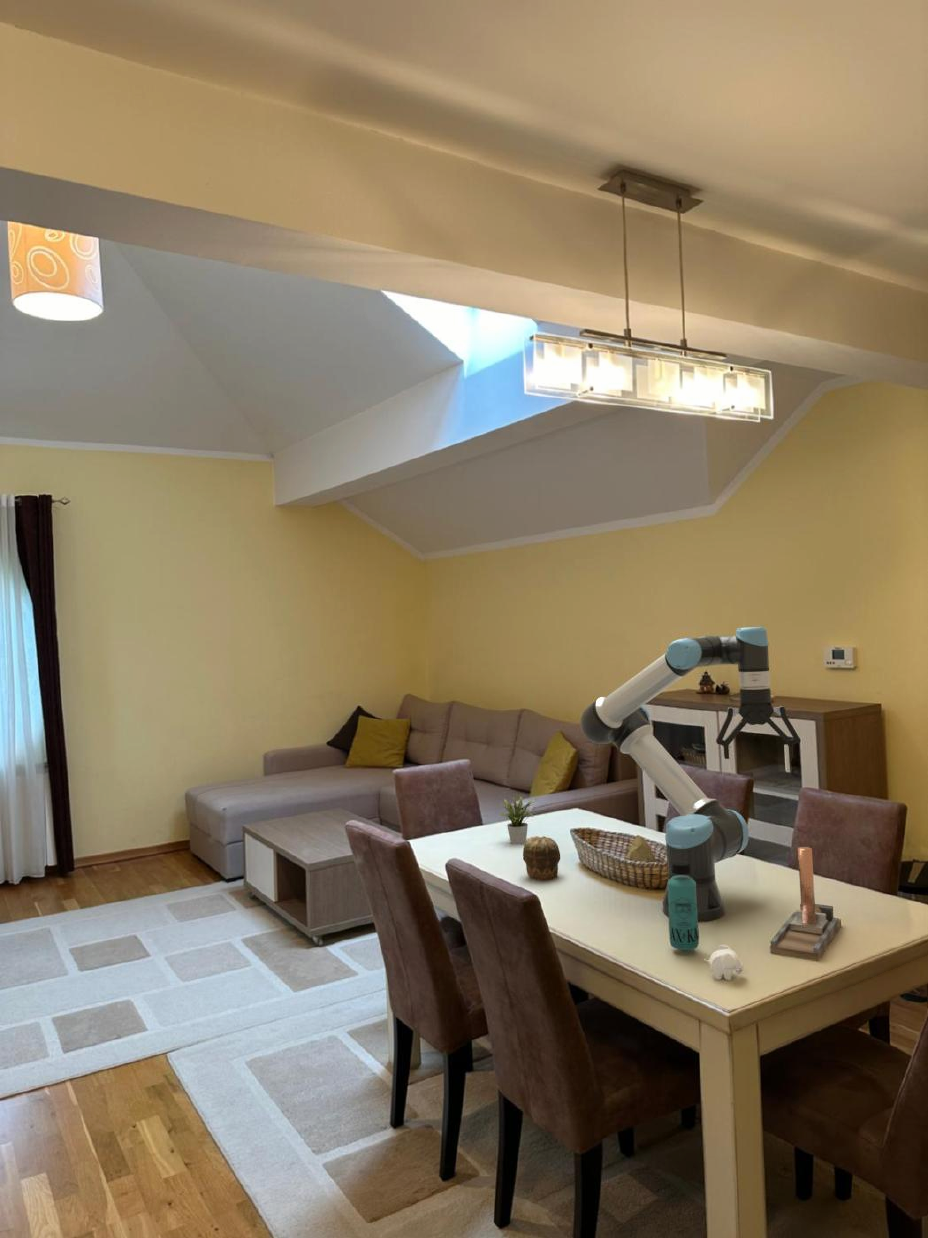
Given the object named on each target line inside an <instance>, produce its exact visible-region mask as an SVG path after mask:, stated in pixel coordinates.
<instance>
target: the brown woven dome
mask: <svg viewBox="0 0 928 1238" xmlns="http://www.w3.org/2000/svg"><path fill="white" fill-rule="evenodd" d="M523 845H524V846H523V852H522V858H523V862H524V863H525V866H526V868H525V869H526V873H527V875H528V877H529V878H530V879H531V880H535V881H543V882H544V881H551V880H554V879H557V878H559V876H558V873H559V871H558V870H559V862H561V852H560V848H559V846H558V843H557V842H556V841H555V839H553V838H551V837H546V836H545V835H544V836H541V837H539V836H538V835H536V836H531V837H529V838H527V839H526V842H525V844H523Z"/></svg>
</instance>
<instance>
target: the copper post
mask: <svg viewBox="0 0 928 1238" xmlns="http://www.w3.org/2000/svg"><path fill="white" fill-rule="evenodd" d="M797 856H798V872H799V873H798V875H799V893H800V904H801V910H800V909H796V910H795V912H796V917H795V918H794V919H793V920H792V922H791V923H790V930H796V931H802V932H809V933H815V934H823V933H824V931H825V930H826V928H827V927H828V920H826V914H824V913H817V912H815V904H816V902H815V901H816V900H815V899H816V898H815V884H814V867H813V865H814V864H813V849H812V848H811V847H809V846H799V847H798V848H797Z"/></svg>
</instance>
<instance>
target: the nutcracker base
mask: <svg viewBox="0 0 928 1238" xmlns="http://www.w3.org/2000/svg"><path fill="white" fill-rule="evenodd" d="M799 906H800V907H799V908H800V909H799V910H801V903H800V904H799ZM815 912H817V913H824V914H826V920H828V927H827V928H826V930H825V931H824V933H823V934H815V933H809V932H802V931H796V930H790V923H791V922H792V920H793V919H794V918H795V917H796V911H794V912H792V914H791V915H790V917H788V919H787V920H786V921H785V923H784V924H783V925H782V926H781V927H780V929H778V931H777V932H776V933H775V934H774V936H773V937H772V938H771V939H770V940H769V941H770V942H769V943H770V946H769V951H770V954H775V955H780V956H781V955H782V956H786V957H792V958H796V959H797V958H798V959H803V960H810V961H816V962H819V961H820V960H821V958H822V956H823V955H824V953H825V952H826V950H827V948H828V947H829V945H831V942H832V941H833V939H834V937H835V936H836V934H837V933H838V931H839V930H840V929H841V927H842V919H841V918H839V917H835V916H834V906H833V905H825V904H820V903H819V904H818V903H815Z"/></svg>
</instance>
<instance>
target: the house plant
mask: <svg viewBox="0 0 928 1238" xmlns="http://www.w3.org/2000/svg"><path fill="white" fill-rule="evenodd" d="M512 799H513V801H512V803H513V807H514V809H513V807H512V805H511V803H510V802H509V801H508V800H507V799H506V798H503V800H504V802H505V804H506V805H504V804H503V803H500V804H501V806H503V807H504V808H505V810H507V814H504V813H503V814H500V815H499V816H500V817H506V818H508V819H509V820H510V823H508V824H507V825H506V827H507V831H508V835H509V841H510V843H513V844H512V845H514V844H521V845H525V844H524V843H525V842H526V841H527V836H528V828H529V827H528V826H529V825H528V823H526V822H525V821H526V819H528V818H529V816H530V817H533V815H534V814H531V813H530V812H531V811H533V809H530V810H528V811H527V812H526V810H527V808H530V807H531V806H532V804H534V803H535V801H536V800H537V798H536V799H532V800H530V801H529V802H527V803H526V804H525V805H524V806H523V803H524V801H523V800H524V797H522V796H520V797H519V800H518V803H517V801H516V799H515V796H512ZM525 817H526V818H525Z"/></svg>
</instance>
